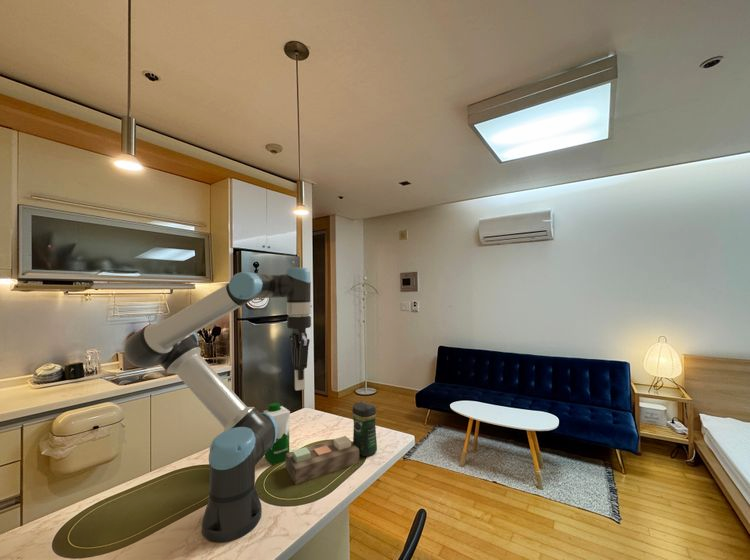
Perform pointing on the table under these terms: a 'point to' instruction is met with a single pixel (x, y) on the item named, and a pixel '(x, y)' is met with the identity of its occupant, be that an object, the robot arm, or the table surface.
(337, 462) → the button console
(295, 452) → the sage button
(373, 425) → the coffee jar
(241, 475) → the robot arm
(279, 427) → the milk carton
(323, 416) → the table surface
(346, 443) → the cream button
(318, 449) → the terracotta button
